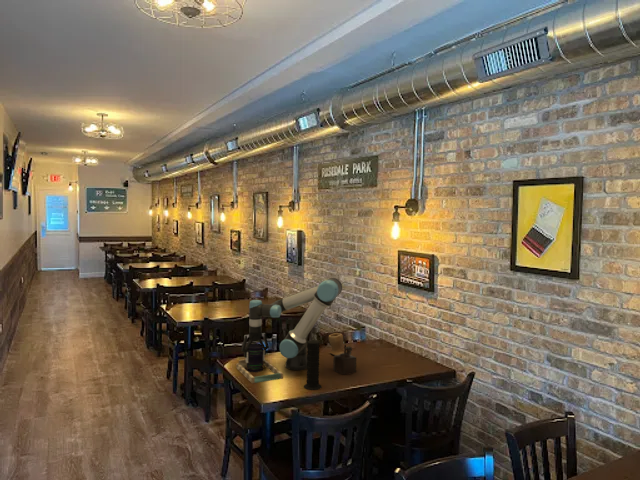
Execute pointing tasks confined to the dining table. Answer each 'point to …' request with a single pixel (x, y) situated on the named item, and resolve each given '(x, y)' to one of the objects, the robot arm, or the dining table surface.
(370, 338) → the dining table surface
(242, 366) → the shallow rimmed tray
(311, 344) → the handle grip
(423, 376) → the dining table surface
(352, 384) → the dining table surface
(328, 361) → the dining table surface
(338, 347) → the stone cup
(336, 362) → the dark boxy piece
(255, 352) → the storage jar
